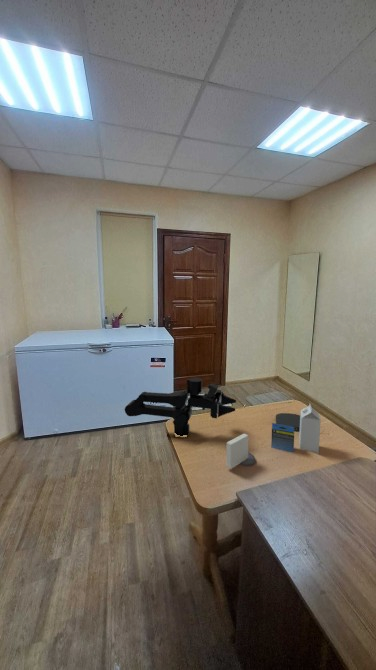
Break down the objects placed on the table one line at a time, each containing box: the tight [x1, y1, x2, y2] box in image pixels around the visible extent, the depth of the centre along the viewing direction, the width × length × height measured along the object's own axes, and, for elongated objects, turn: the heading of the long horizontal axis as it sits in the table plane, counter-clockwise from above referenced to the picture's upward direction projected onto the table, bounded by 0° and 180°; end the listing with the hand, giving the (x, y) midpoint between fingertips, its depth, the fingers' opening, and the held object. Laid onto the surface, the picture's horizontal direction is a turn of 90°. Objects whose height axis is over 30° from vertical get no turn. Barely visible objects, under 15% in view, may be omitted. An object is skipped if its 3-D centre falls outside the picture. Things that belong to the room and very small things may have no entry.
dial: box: [225, 432, 256, 470], centre depth 102 cm, size 14×7×11 cm, turn 129°
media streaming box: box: [275, 412, 300, 432], centre depth 136 cm, size 15×15×3 cm
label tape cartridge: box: [270, 422, 295, 453], centre depth 112 cm, size 9×4×12 cm, turn 65°
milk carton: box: [298, 404, 321, 455], centre depth 112 cm, size 7×7×19 cm
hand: (235, 405), depth 119 cm, fingers open, 9 cm apart
